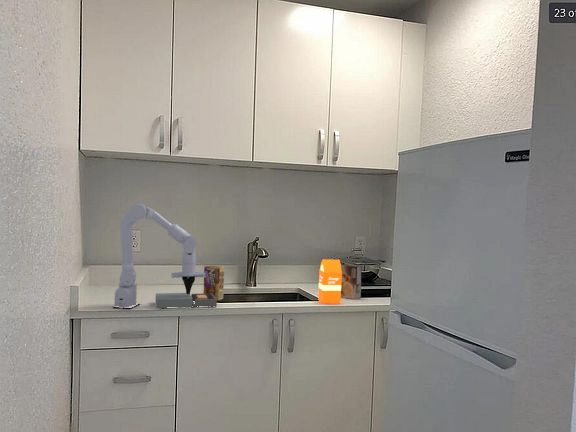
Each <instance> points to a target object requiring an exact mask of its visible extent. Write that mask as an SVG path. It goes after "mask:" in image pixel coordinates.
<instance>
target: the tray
mask: <svg viewBox="0 0 576 432" xmlns="http://www.w3.org/2000/svg"><path fill="white" fill-rule="evenodd" d="M190 295H191V297H192V306H193V307H197V306H198V307H199V306H217V304H218V300H217V299H216V297H215V296H214V295H213V294H212V293H204V292H203V293H190ZM196 295H206V296H207V297H208V299H196ZM193 301H195V304H194V302H193ZM193 307H192V308H193Z"/></svg>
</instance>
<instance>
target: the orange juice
mask: <svg viewBox="0 0 576 432" xmlns="http://www.w3.org/2000/svg"><path fill="white" fill-rule="evenodd" d="M341 265H342V264H341V260H340V259H322V260H321V262H320V268H319V272H318V273H319V276H318V293H317V294H318V296H317V297H318V299H317V300H318V301H319V303H321V302H322V303H321V304H341V301H342V300H341V298H342V297H341V278H342V272H341Z"/></svg>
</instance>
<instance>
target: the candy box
mask: <svg viewBox="0 0 576 432" xmlns="http://www.w3.org/2000/svg"><path fill="white" fill-rule="evenodd" d="M203 268H204V270H203V272H205V273H206V274H205V277H203V293H212V294H213V295H214V296H215V297H216V299H217V301H220V300H223V299H224V286H225V284H224V283H225V266H219V265H211V264H210V265H209V264H208V265H204V266H203Z"/></svg>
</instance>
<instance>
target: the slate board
mask: <svg viewBox="0 0 576 432" xmlns="http://www.w3.org/2000/svg"><path fill="white" fill-rule="evenodd" d="M156 305H157V306H156ZM155 306H156V309H157V308H167V307H192V297H191V293H190V294H186V292H165V293H164V292H162V293H161V292H160V293H155ZM192 308H193V307H192Z"/></svg>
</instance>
